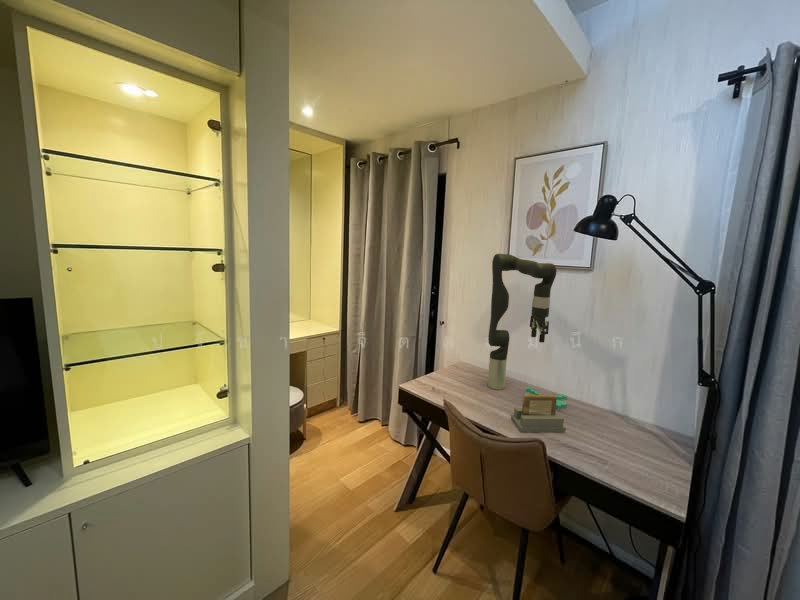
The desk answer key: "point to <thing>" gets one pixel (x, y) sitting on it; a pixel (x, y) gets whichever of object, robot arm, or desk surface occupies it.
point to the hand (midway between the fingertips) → (537, 339)
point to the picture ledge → (537, 422)
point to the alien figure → (558, 403)
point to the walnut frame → (539, 405)
